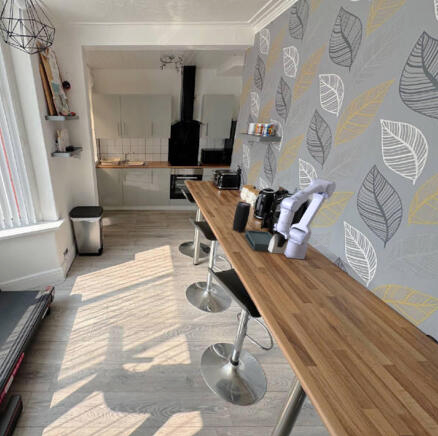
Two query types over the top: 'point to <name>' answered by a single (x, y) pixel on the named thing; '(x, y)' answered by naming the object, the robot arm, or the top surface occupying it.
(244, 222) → the portable speaker
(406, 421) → the top surface
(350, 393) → the top surface
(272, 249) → the light grey block
